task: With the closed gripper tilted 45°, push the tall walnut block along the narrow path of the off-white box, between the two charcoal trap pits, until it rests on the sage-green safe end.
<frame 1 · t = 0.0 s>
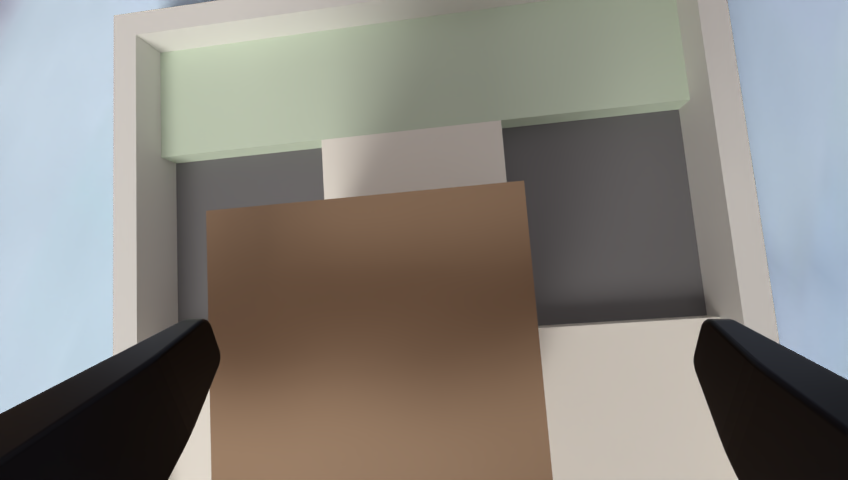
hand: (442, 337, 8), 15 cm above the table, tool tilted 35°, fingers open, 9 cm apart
trap box: (427, 331, 23), on the table
walnut block: (423, 335, 22), point 2 cm above the table, touching trap box
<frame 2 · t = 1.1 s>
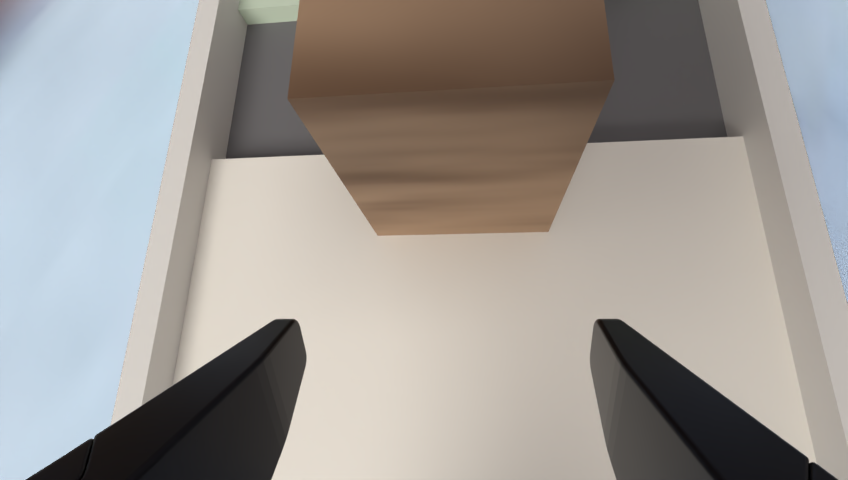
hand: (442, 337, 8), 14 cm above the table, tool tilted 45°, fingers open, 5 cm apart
trap box: (461, 163, 25), on the table
walnut block: (460, 148, 23), point 2 cm above the table, touching trap box
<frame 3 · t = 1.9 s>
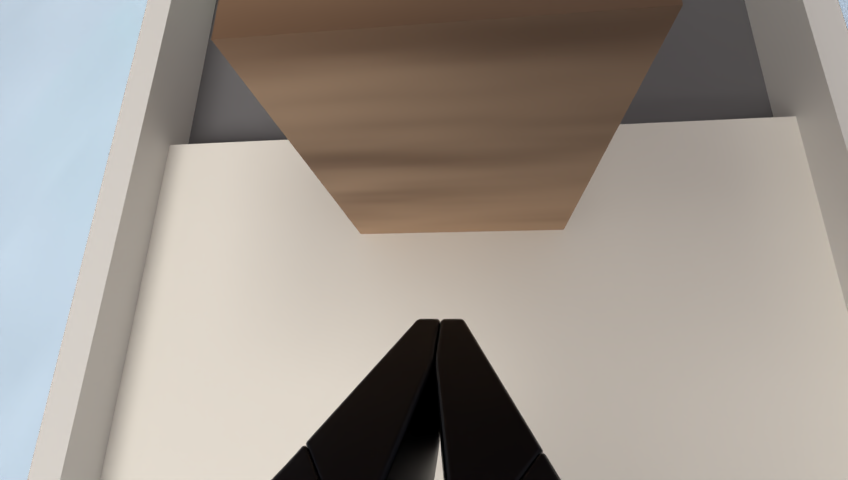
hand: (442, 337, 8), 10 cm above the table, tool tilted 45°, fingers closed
trap box: (460, 150, 21), on the table
walnut block: (458, 131, 20), point 2 cm above the table, touching trap box
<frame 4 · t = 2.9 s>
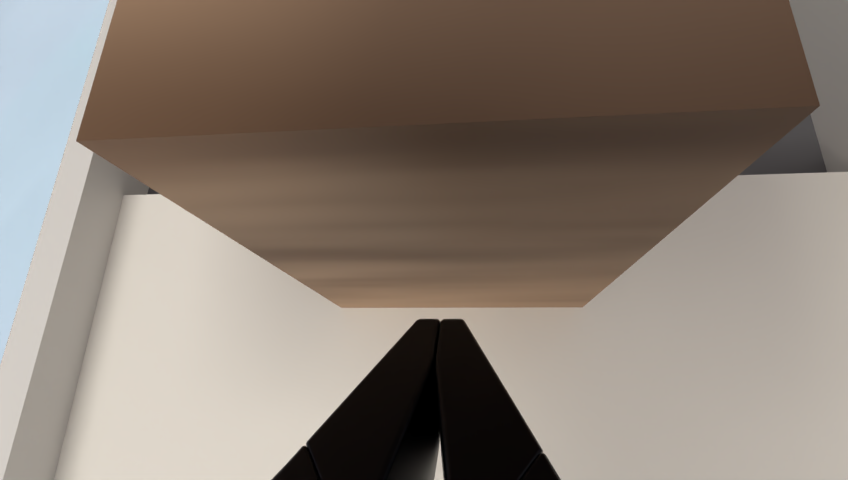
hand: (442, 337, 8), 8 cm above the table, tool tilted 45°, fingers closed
trap box: (459, 201, 18), on the table
walnut block: (457, 184, 17), point 2 cm above the table, touching trap box
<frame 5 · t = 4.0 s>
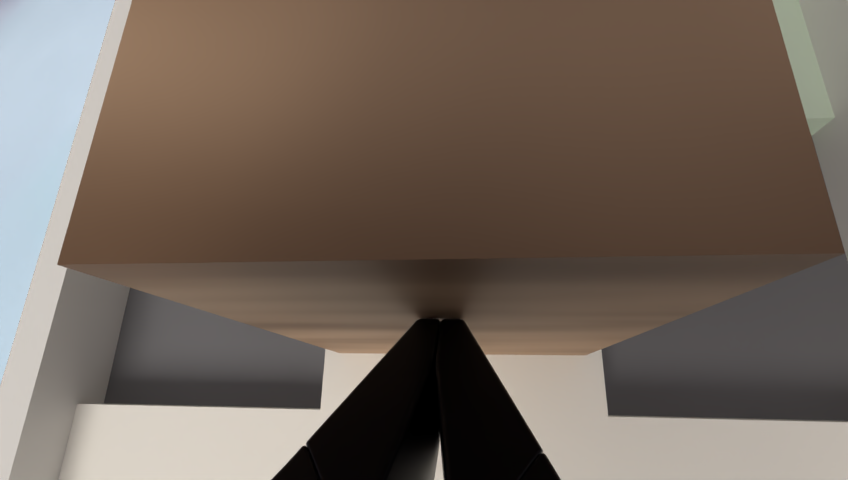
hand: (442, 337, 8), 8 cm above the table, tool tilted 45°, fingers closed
trap box: (461, 411, 16), on the table
walnut block: (458, 225, 16), point 2 cm above the table, touching trap box
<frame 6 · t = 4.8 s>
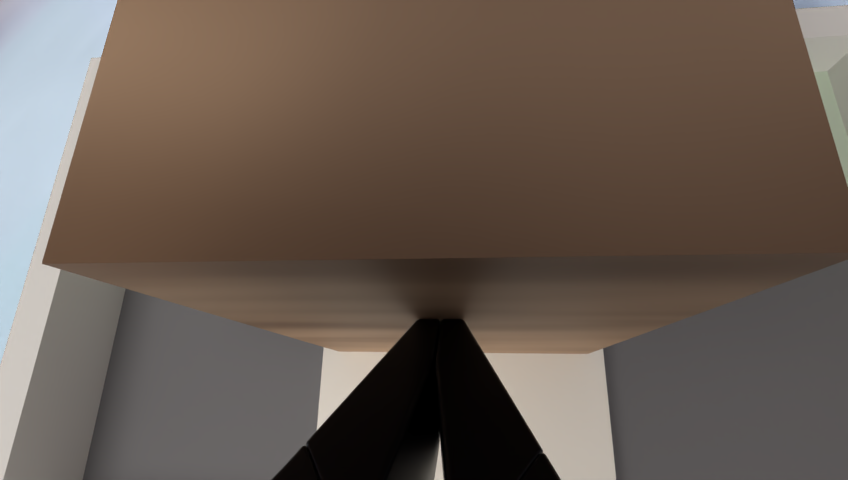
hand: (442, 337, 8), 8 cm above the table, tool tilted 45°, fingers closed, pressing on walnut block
walnut block: (458, 221, 16), point 2 cm above the table, touching gripper, trap box
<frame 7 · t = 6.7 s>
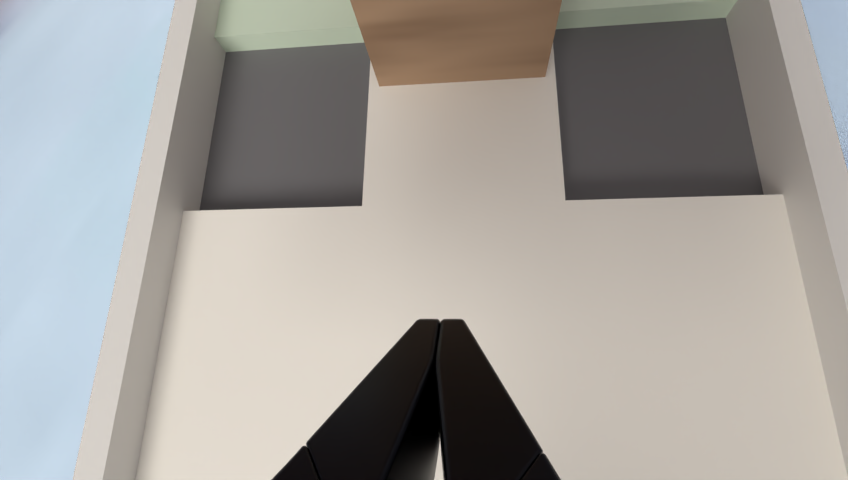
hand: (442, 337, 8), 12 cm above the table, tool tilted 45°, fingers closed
trap box: (462, 215, 22), on the table
walnut block: (459, 6, 24), point 2 cm above the table, touching trap box
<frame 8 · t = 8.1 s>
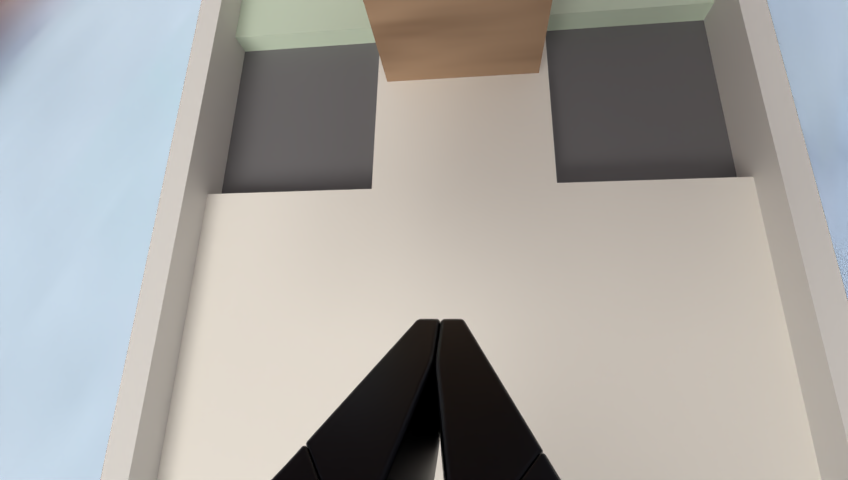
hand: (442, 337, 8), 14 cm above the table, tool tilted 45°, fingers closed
trap box: (463, 198, 24), on the table
walnut block: (461, 9, 26), point 2 cm above the table, touching trap box
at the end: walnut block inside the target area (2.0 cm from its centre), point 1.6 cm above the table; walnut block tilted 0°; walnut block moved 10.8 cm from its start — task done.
